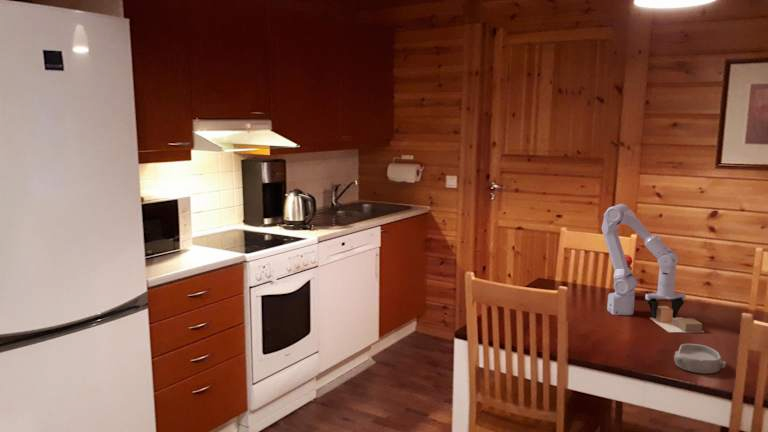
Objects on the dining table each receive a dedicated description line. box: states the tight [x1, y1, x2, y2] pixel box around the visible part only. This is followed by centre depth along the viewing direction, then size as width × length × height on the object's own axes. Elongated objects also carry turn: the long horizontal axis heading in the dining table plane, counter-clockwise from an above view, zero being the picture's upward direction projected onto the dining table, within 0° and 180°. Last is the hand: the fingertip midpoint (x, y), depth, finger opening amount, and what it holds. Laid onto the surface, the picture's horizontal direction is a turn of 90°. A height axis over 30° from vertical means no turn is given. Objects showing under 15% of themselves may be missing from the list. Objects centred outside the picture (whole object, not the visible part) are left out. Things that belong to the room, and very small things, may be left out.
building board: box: [649, 316, 705, 334], centre depth 218 cm, size 13×16×4 cm
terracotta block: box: [655, 305, 673, 323], centre depth 223 cm, size 4×4×5 cm
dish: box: [673, 343, 727, 374], centre depth 185 cm, size 14×14×5 cm
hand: (663, 317), depth 223 cm, fingers open, 7 cm apart
